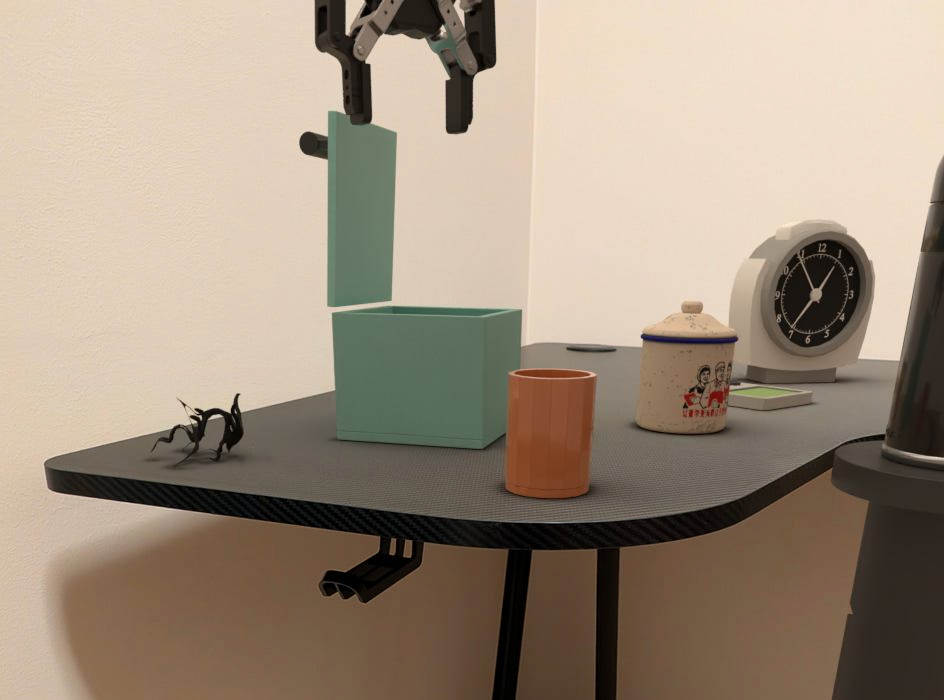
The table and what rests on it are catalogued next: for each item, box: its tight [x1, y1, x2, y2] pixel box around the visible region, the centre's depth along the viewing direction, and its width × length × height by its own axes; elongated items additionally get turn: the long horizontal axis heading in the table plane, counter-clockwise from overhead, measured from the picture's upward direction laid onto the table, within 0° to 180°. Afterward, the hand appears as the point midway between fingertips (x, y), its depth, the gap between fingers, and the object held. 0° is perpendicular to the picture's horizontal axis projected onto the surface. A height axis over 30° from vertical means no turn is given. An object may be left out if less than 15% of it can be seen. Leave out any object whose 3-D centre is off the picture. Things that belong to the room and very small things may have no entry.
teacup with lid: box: [635, 300, 738, 435], centre depth 88 cm, size 12×9×12 cm
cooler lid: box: [298, 110, 398, 308], centre depth 81 cm, size 15×14×5 cm
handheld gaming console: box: [728, 379, 814, 411], centre depth 108 cm, size 10×2×15 cm
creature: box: [150, 392, 245, 467], centre depth 73 cm, size 8×5×8 cm
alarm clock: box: [728, 218, 876, 384], centre depth 122 cm, size 18×8×20 cm, turn 104°
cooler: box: [331, 305, 523, 450], centre depth 84 cm, size 14×14×11 cm
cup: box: [504, 368, 598, 499], centre depth 64 cm, size 6×6×8 cm
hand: (410, 129), depth 69 cm, fingers open, 8 cm apart
